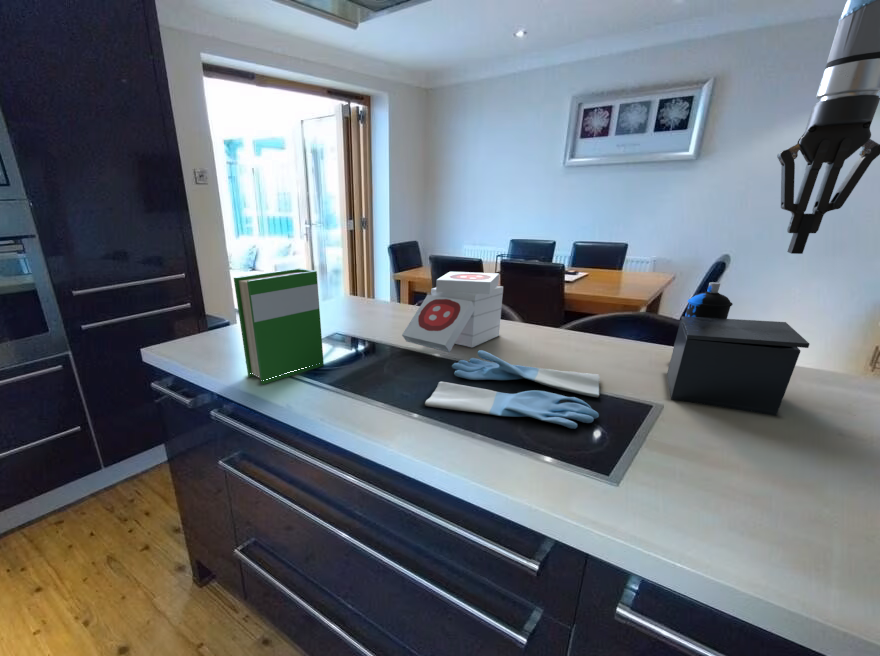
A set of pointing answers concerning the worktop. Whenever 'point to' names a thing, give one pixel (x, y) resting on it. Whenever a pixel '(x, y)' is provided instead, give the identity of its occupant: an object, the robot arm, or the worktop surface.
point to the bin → (730, 373)
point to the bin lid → (742, 331)
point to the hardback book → (280, 322)
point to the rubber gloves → (521, 403)
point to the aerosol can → (709, 304)
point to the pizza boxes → (458, 312)
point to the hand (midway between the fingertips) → (794, 252)
